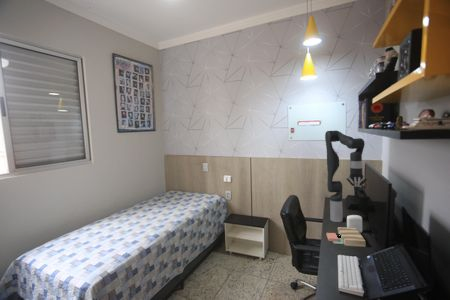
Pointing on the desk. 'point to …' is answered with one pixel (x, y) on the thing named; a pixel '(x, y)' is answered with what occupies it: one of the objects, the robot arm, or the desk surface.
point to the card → (332, 237)
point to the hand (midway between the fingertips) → (356, 191)
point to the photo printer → (354, 222)
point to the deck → (351, 237)
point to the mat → (339, 241)
